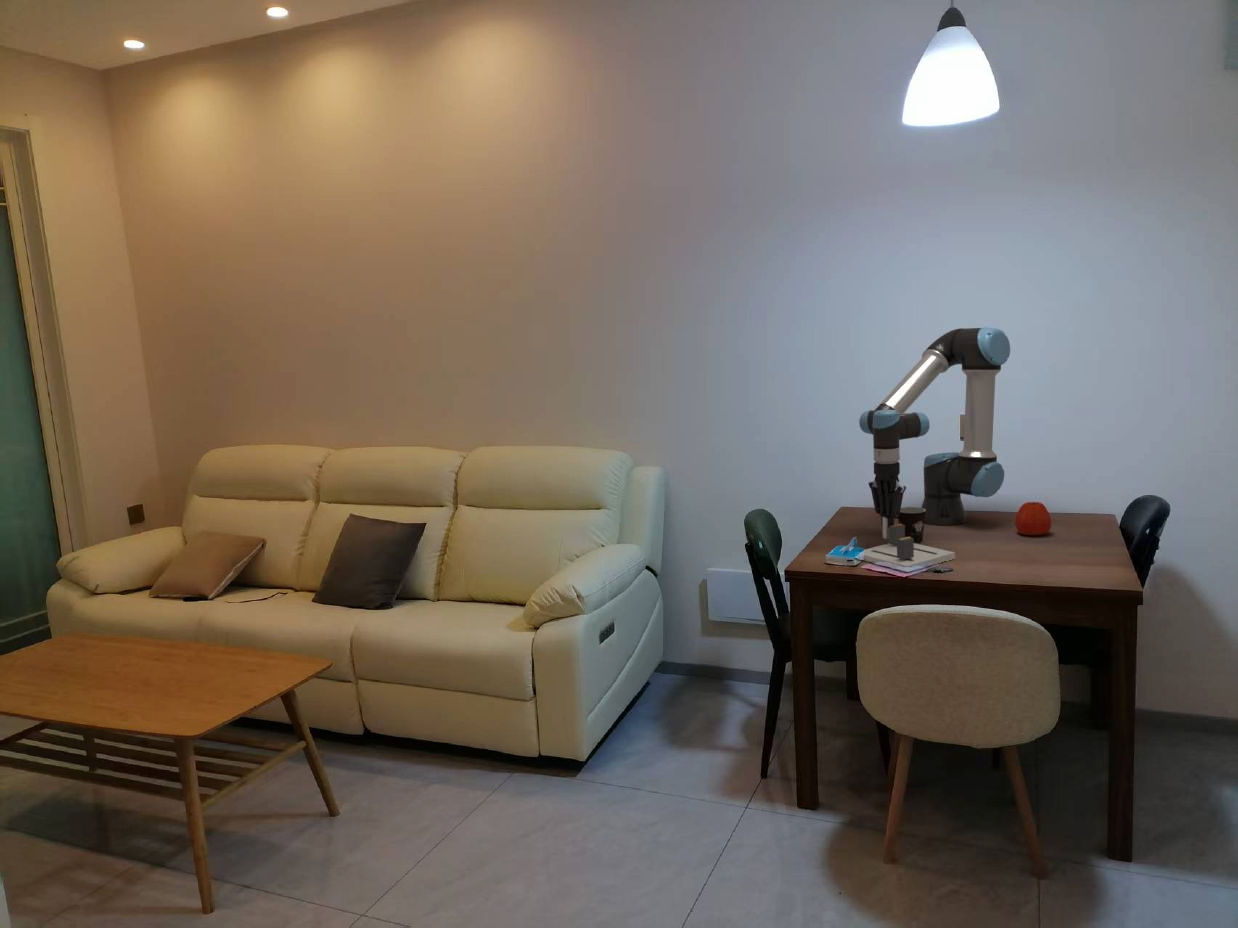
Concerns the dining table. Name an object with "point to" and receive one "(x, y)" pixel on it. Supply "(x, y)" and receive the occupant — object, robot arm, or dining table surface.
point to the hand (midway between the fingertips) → (887, 537)
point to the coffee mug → (912, 522)
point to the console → (920, 556)
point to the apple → (1033, 519)
